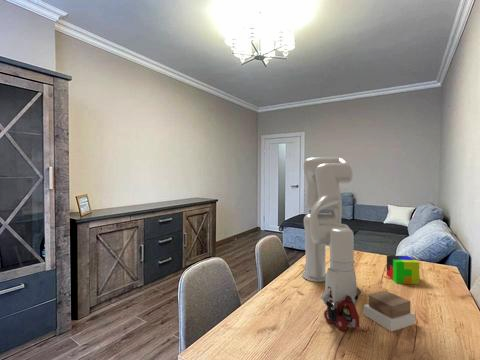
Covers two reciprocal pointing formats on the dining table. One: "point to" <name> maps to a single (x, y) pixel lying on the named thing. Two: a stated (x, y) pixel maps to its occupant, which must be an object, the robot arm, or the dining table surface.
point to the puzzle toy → (403, 269)
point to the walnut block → (389, 304)
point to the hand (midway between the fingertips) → (341, 316)
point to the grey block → (389, 319)
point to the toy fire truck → (344, 314)
